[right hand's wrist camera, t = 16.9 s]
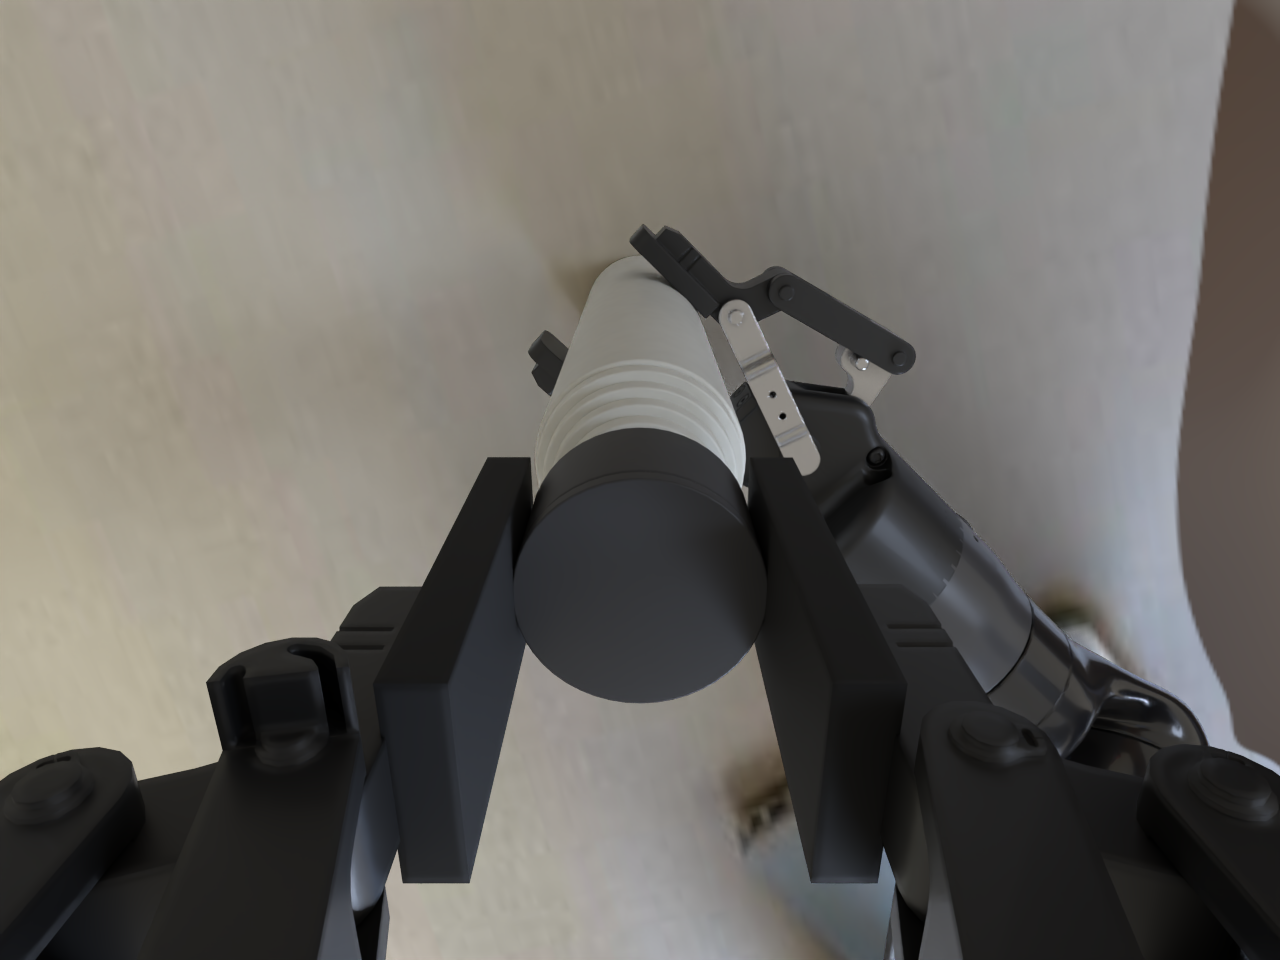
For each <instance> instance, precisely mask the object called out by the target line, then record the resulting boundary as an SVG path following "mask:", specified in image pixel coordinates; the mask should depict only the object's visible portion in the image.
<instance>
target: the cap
mask: <svg viewBox="0 0 1280 960" xmlns="http://www.w3.org/2000/svg"><path fill="white" fill-rule="evenodd" d="M767 580H768V575H767V568H766V564H765V561H764V558H763V555H762V552H761V548H760V545H759V542H758V539H757V535H756V532H755V529H754V526H753V522H752V519H751V516H750V513H749V509H748V506H747V503H746V500H745V497H744V494H743V491H742V489H741V487H740V485H739V483H738V481H737V479H736V478H735V476H734V475H733V474H732V472H731V471H730V469H729V468H728V467H727V466H726V465H725V464H724V463H723V461H722V460H721V459H720V458H719V457H717V456H716V455H715V454H714V453H713V452H711V451H710V450H709V449H707V448H706V447H704V446H703V445H701V444H700V443H698V442H696V441H694V440H692V439H690V438H688V437H686V436H683V435H680V434H677V433H674V432H671V431H666V430H661V429H655V428H625V429H620V430H614V431H609V432H606V433H603V434H600V435H597V436H595V437H593V438H591V439H588V440H586V441H584V442H582V443H581V444H579V445H578V446H576V447H575V448H573V449H572V450H570V451H569V452H568V453H567V454H565V455H564V456H563V457H562V458H561V459H560V460H559V461H558V462H557V463H556V464H555V465H554V466H553V467H552V469H551V470H550V471H549V473H548V474H547V476H546V477H545V479H544V480H543V482H542V484H541V486H540V488H539V490H538V492H537V495H536V498H535V501H534V504H533V508H532V511H531V514H530V517H529V521H528V524H527V527H526V530H525V534H524V537H523V540H522V543H521V547H520V550H519V553H518V556H517V560H516V563H515V566H514V571H513V588H514V604H515V617H516V621H517V624H518V627H519V629H520V631H521V633H522V635H523V638H524V640H525V641H526V643H527V644H528V646H529V647H530V649H531V651H532V652H533V653H534V655H535V656H536V657H537V658H538V659H539V660H540V662H541V663H542V664H543V665H544V666H545V667H547V668H548V669H549V670H550V671H551V672H552V673H553V674H554V675H556V676H557V677H559V678H560V679H562V680H563V681H564V682H566V683H568V684H569V685H571V686H573V687H575V688H577V689H579V690H581V691H583V692H586V693H588V694H591V695H593V696H597V697H600V698H604V699H608V700H613V701H619V702H625V703H654V702H662V701H668V700H673V699H677V698H680V697H684V696H687V695H690V694H692V693H695V692H697V691H699V690H702V689H704V688H705V687H707V686H709V685H711V684H713V683H715V682H716V681H717V680H719V679H720V678H722V677H723V676H724V675H726V674H727V673H728V672H730V671H731V670H732V669H733V668H734V667H735V666H736V665H737V664H738V663H739V662H740V661H741V660H742V659H743V657H744V656H745V655H746V654H747V653H748V651H749V650H750V648H751V647H752V645H753V643H754V642H755V640H756V639H757V636H758V634H759V632H760V630H761V628H762V626H763V622H764V619H765V610H766V596H767Z"/></svg>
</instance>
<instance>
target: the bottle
mask: <svg viewBox="0 0 1280 960" xmlns="http://www.w3.org/2000/svg"><path fill="white" fill-rule="evenodd" d="M625 428H655V429H661V430H666V431H671V432H674V433H677V434H680V435H683V436H686V437H688V438H690V439H692V440H694V441H696V442H698V443H700V444H701V445H703V446H704V447H706V448H707V449H709V450H710V451H711V452H713V453H714V454H715V455H716V456H717V457H719V458H720V459H721V460H722V461H723V463H724V464H725V465H726V466H727V467H728V468H729V469H730V471H731V472H732V474H733V475H734V476H735V478H736V479H737V481H738V483H739V485H740V487H741V489H742V484H743V478H744V473H745V463H746V453H745V443H744V438H743V433H742V430H741V427H740V424H739V421H738V419H737V416H736V413H735V410H734V408H733V405H732V402H731V400H730V397H729V394H728V392H727V389H726V386H725V384H724V381H723V378H722V376H721V373H720V370H719V368H718V365H717V362H716V360H715V357H714V354H713V352H712V349H711V346H710V344H709V341H708V338H707V336H706V333H705V330H704V328H703V325H702V322H701V319H700V317H699V314H698V311H697V310H696V309H695V308H694V307H693V306H692V305H691V303H690V302H689V301H688V300H687V299H686V298H685V297H684V296H682V295H681V294H680V293H679V292H678V291H677V290H676V289H675V288H674V287H673V286H672V285H671V284H670V283H669V282H668V281H667V280H666V279H665V278H664V277H663V276H662V275H661V274H660V273H659V272H658V271H657V270H656V269H655V268H654V267H653V266H652V265H651V264H650V263H649V262H648V261H647V260H646V259H645V258H644V257H643V256H640V255H638V256H630V257H626V258H623V259H620V260H618V261H616V262H614V263H612V264H611V265H610V266H608V267H607V268H606V269H605V270H604V271H603V272H602V273H601V274H600V275H599V276H598V278H597V279H596V281H595V282H594V284H593V286H592V289H591V291H590V294H589V296H588V299H587V302H586V304H585V307H584V310H583V312H582V315H581V318H580V320H579V323H578V326H577V329H576V331H575V334H574V337H573V339H572V342H571V345H570V347H569V350H568V353H567V355H566V358H565V361H564V363H563V366H562V369H561V371H560V374H559V377H558V379H557V382H556V385H555V387H554V390H553V393H552V395H551V398H550V401H549V403H548V406H547V409H546V411H545V414H544V417H543V419H542V422H541V425H540V428H539V431H538V435H537V439H536V446H535V469H536V475H537V482H538V488H540V486H541V484H542V482H543V480H544V479H545V477H546V476H547V474H548V473H549V471H550V470H551V469H552V467H553V466H554V465H555V464H556V463H557V462H558V461H559V460H560V459H561V458H562V457H563V456H564V455H565V454H567V453H568V452H569V451H570V450H572V449H573V448H575V447H576V446H578V445H579V444H581V443H582V442H584V441H586V440H588V439H591V438H593V437H595V436H597V435H600V434H603V433H606V432H609V431H614V430H620V429H625Z"/></svg>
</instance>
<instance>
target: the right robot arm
mask: <svg viewBox="0 0 1280 960" xmlns="http://www.w3.org/2000/svg"><path fill="white" fill-rule="evenodd" d="M747 506H748V509H749V513H750V516H751V519H752V522H753V526H754V529H755V532H756V535H757V539H758V542H759V545H760V548H761V552H762V555H763V558H764V561H765V564H766V568H767V575H768V580H767V596H766V610H765V619H764V622H763V626H762V628H761V630H760V632H759V634H758V636H757V639H756V640H755V642H754V643H755V647H756V651H757V655H758V660H759V664H760V668H761V672H762V677H763V681H764V685H765V689H766V694H767V698H768V702H769V706H770V711H771V715H772V719H773V723H774V728H775V732H776V736H777V740H778V745H779V749H780V753H781V757H782V762H783V766H784V770H785V774H786V779H787V783H788V787H789V791H790V796H791V800H792V804H793V808H794V813H795V817H796V821H797V826H798V830H799V834H800V838H801V843H802V847H803V851H804V855H805V860H806V864H807V868H808V872H809V877H810V881H811V883H878V878H879V871H880V865H881V858H882V851H883V846H884V849H885V852H886V855H887V858H888V860H889V863H890V866H891V869H892V872H893V875H894V877H895V880H896V883H895V889H894V895H893V901H892V908H891V914H890V920H889V926H888V932H887V938H886V945H885V951H884V958H883V960H894V959H895V960H1280V776H1279V775H1278V774H1276V773H1275V772H1274V771H1272V770H1270V769H1268V768H1266V767H1264V766H1262V765H1260V764H1258V763H1256V762H1254V761H1252V760H1250V759H1247V758H1246V757H1244V756H1241V755H1238V754H1235V753H1232V752H1230V751H1225V750H1222V749H1218V748H1214V747H1211V746H1201V745H1191V744H1179V745H1174V746H1169V747H1163V748H1161V749H1160V750H1159V751H1158V752H1156V753H1155V754H1154V755H1153V756H1152V757H1151V758H1150V760H1149V763H1148V767H1147V770H1146V773H1145V777H1144V778H1143V777H1138V776H1133V775H1129V774H1124V773H1120V772H1115V771H1110V770H1106V769H1101V768H1096V767H1092V766H1087V765H1084V764H1080V763H1076V762H1073V761H1069V760H1066V759H1063V758H1061V757H1060V755H1059V752H1058V750H1057V748H1056V747H1055V746H1054V744H1053V743H1052V741H1051V740H1050V739H1049V737H1048V736H1047V734H1046V733H1045V732H1044V731H1042V730H1041V729H1040V728H1038V727H1037V726H1036V725H1035V724H1033V723H1032V722H1031V721H1029V720H1028V719H1027V718H1025V717H1023V716H1021V715H1018V714H1016V713H1014V712H1012V711H1009V710H1007V709H1005V708H1003V707H1000V706H995V705H993V703H992V702H991V700H990V699H989V697H988V696H987V694H986V693H985V691H984V690H983V688H982V686H981V685H980V683H979V682H978V680H977V679H976V677H975V676H974V674H973V672H972V671H971V669H970V668H969V666H968V665H967V663H966V662H965V660H964V659H963V657H962V655H961V654H960V652H959V651H958V649H957V648H956V647H953V641H952V640H951V638H950V637H949V635H948V634H947V632H946V631H945V629H942V627H941V623H940V621H939V620H938V618H937V617H936V615H935V614H934V612H933V610H932V609H931V607H930V606H929V604H928V603H927V602H926V601H924V600H923V599H921V598H920V597H919V596H917V595H916V594H914V593H913V592H912V591H910V590H909V589H907V588H906V587H904V586H903V585H902V584H857V583H856V581H855V579H854V577H853V575H852V573H851V571H850V569H849V567H848V565H847V563H846V561H845V559H844V557H843V555H842V553H841V551H840V549H839V547H838V545H837V543H836V541H835V539H834V537H833V536H832V534H831V532H830V530H829V528H828V526H827V524H826V522H825V520H824V518H823V516H822V514H821V512H820V510H819V508H818V506H817V504H816V502H815V500H814V498H813V496H812V494H811V492H810V490H809V488H808V486H807V484H806V482H805V480H804V478H803V476H802V475H801V473H800V471H799V469H798V467H797V465H796V463H795V461H794V459H793V457H750V467H749V485H748V504H747ZM532 508H533V495H532V476H531V458H530V457H488V458H487V460H486V462H485V464H484V466H483V468H482V470H481V472H480V474H479V476H478V478H477V479H476V481H475V483H474V485H473V487H472V489H471V491H470V493H469V495H468V497H467V499H466V501H465V503H464V505H463V507H462V509H461V511H460V513H459V515H458V517H457V519H456V521H455V523H454V525H453V527H452V529H451V531H450V533H449V535H448V537H447V539H446V541H445V542H444V544H443V546H442V548H441V550H440V552H439V554H438V556H437V558H436V560H435V562H434V564H433V566H432V568H431V570H430V572H429V574H428V576H427V578H426V580H425V582H424V584H423V586H422V587H379V588H377V589H376V590H374V591H373V592H372V593H370V594H369V595H367V596H366V597H364V598H363V599H362V600H360V601H359V602H357V603H356V604H355V605H353V607H352V608H351V610H350V611H349V613H348V615H347V616H346V618H345V619H344V621H343V622H342V624H341V626H340V630H339V631H337V632H336V633H335V635H334V636H333V638H332V640H331V641H327V640H323V639H320V638H288V639H283V640H278V641H273V642H268V643H264V644H262V645H259V646H256V647H254V648H251V649H249V650H246V651H244V652H241V653H239V654H238V655H236V656H235V657H233V658H232V659H230V660H229V661H227V662H225V663H224V664H222V665H221V666H219V667H218V669H217V670H216V671H215V672H214V673H213V675H212V676H211V677H210V678H209V679H208V681H207V682H206V684H207V688H208V692H209V696H210V701H211V705H212V709H213V713H214V717H215V721H216V725H217V729H218V733H219V737H220V741H221V746H222V750H223V751H222V754H221V756H220V759H219V761H218V762H216V763H213V764H209V765H206V766H202V767H199V768H195V769H190V770H186V771H181V772H177V773H172V774H168V775H163V776H158V777H154V778H149V779H145V780H140V781H137V778H136V774H135V771H134V768H133V764H132V762H131V761H130V760H129V759H128V758H127V757H126V756H125V755H124V754H123V753H121V752H120V751H116V750H111V749H106V748H101V747H95V748H85V749H74V750H69V751H66V752H62V753H57V754H56V755H51V756H48V757H45V758H42V759H39V760H37V761H35V762H33V763H31V764H29V765H27V766H25V767H23V768H21V769H19V770H17V771H15V772H13V773H11V774H9V775H8V776H6V777H5V778H4V779H2V780H1V781H0V960H385V959H386V949H387V939H388V930H389V920H390V916H389V909H388V902H387V895H386V889H385V883H386V880H387V877H388V875H389V872H390V869H391V866H392V863H393V860H394V858H395V855H396V852H397V849H398V855H399V861H400V868H401V874H402V881H403V883H470V879H471V875H472V870H473V866H474V862H475V857H476V853H477V849H478V845H479V840H480V836H481V832H482V828H483V823H484V819H485V815H486V811H487V806H488V802H489V798H490V794H491V789H492V785H493V781H494V777H495V772H496V768H497V764H498V760H499V755H500V751H501V747H502V743H503V738H504V734H505V730H506V725H507V721H508V717H509V713H510V708H511V704H512V700H513V696H514V691H515V687H516V683H517V679H518V674H519V670H520V666H521V662H522V657H523V653H524V649H525V645H526V641H525V640H524V638H523V635H522V633H521V631H520V629H519V627H518V624H517V621H516V617H515V604H514V588H513V571H514V566H515V563H516V560H517V556H518V553H519V550H520V547H521V543H522V540H523V537H524V534H525V530H526V527H527V524H528V521H529V517H530V514H531V511H532Z"/></svg>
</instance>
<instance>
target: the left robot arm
mask: <svg viewBox="0 0 1280 960" xmlns="http://www.w3.org/2000/svg"><path fill="white" fill-rule="evenodd" d="M630 243H631V244H632V246H633V247H634V248H635V249H636V250H637V251H638V252H639V253H640V254H641V255H642V256H643V257H644V258H645V259H646V260H647V261H648V262H649V263H650V264H651V265H652V266H653V267H654V268H655V269H656V270H657V271H658V272H659V273H660V274H661V275H662V276H663V277H664V278H665V279H666V280H667V281H668V282H669V283H670V284H671V285H672V286H673V287H674V288H675V289H676V290H677V291H678V292H679V293H680V294H681V295H682V296H684V297H685V298H686V299H687V300H688V301H689V302H690V303H691V305H692V306H693V307H694V308H695V309H696V310H697V311H698V312H699V313H700V314H701V315H702V316H703V317H704V318H705V319H706V318H707V317H708V316H709V315H711V316H712V317H713V318H714V319H715V320H716V321H717V322H718V323H719V324H720V325H721V327H722V330H723V332H724V334H725V336H726V338H727V340H728V342H729V344H730V346H731V348H732V350H733V352H734V355H735V357H736V359H737V361H738V363H739V365H740V367H741V369H742V371H743V373H744V375H745V378H746V380H747V382H748V383H747V382H745V383H744V384H743V385H741V386H740V387H739V388H738V389H737V390H736V391H735V392H734V393H733V394H732V395H731V397H730V400H731V402H732V405H733V408H734V410H735V413H736V416H737V419H738V421H739V424H740V427H741V430H742V433H743V438H744V443H745V453H746V463H745V473H744V478H743V484H742V491H743V494H744V497H745V500H746V503H747V504H748V485H749V467H750V457H793V459H794V461H795V463H796V465H797V467H798V469H799V471H800V473H801V475H802V476H803V478H804V480H805V482H806V484H807V486H808V488H809V490H810V492H811V494H812V496H813V498H814V500H815V502H816V504H817V506H818V508H819V510H820V512H821V514H822V516H823V518H824V520H825V522H826V524H827V526H828V528H829V530H830V532H831V534H832V536H833V537H834V539H835V541H836V543H837V545H838V547H839V549H840V551H841V553H842V555H843V557H844V559H845V561H846V563H847V565H848V567H849V569H850V571H851V573H852V575H853V577H854V579H855V581H856V583H857V584H902V585H903V586H904V587H906V588H907V589H909V590H910V591H912V592H913V593H914V594H916V595H917V596H919V597H920V598H921V599H923V600H924V601H926V602H927V603H928V604H929V606H930V607H931V609H932V610H933V612H934V614H935V615H936V617H937V618H938V620H939V621H940V623H941V627H942V629H945V631H946V632H947V634H948V635H949V637H950V638H951V640H952V641H953V647H956V648H957V649H958V651H959V652H960V654H961V655H962V657H963V659H964V660H965V662H966V663H967V665H968V666H969V668H970V669H971V671H972V672H973V674H974V676H975V677H976V679H977V680H978V682H979V683H980V685H981V686H982V688H983V690H984V691H985V693H986V694H987V696H988V697H989V699H990V700H991V702H992V703H993V705H995V706H1000V707H1003V708H1005V709H1007V710H1009V711H1012V712H1014V713H1016V714H1018V715H1021V716H1023V717H1025V718H1027V719H1028V720H1029V721H1031V722H1032V723H1033V724H1035V725H1036V726H1037V727H1038V728H1040V729H1041V730H1042V731H1044V732H1045V733H1046V734H1047V736H1048V737H1049V739H1050V740H1051V741H1052V743H1053V744H1054V746H1055V747H1056V748H1057V750H1058V752H1059V755H1060V757H1061V758H1063V759H1066V760H1069V761H1073V762H1076V763H1080V764H1084V765H1087V766H1092V767H1096V768H1101V769H1106V770H1110V771H1115V772H1120V773H1124V774H1129V775H1133V776H1138V777H1143V778H1144V777H1145V773H1146V770H1147V767H1148V763H1149V760H1150V758H1151V757H1152V756H1153V755H1154V754H1155V753H1156V752H1158V751H1159V750H1160V749H1161V748H1163V747H1169V746H1174V745H1179V744H1191V745H1201V746H1210V745H1209V742H1208V739H1207V736H1206V734H1205V731H1204V729H1203V727H1202V725H1201V724H1200V722H1199V720H1198V719H1197V717H1196V716H1195V714H1194V713H1193V711H1192V710H1191V709H1190V708H1189V707H1188V706H1187V705H1186V704H1185V703H1184V702H1183V701H1182V700H1181V699H1179V698H1178V697H1177V696H1175V695H1174V694H1172V693H1170V692H1169V691H1167V690H1165V689H1163V688H1161V687H1159V686H1157V685H1155V684H1153V683H1151V682H1149V681H1147V680H1144V679H1142V678H1140V677H1138V676H1136V675H1134V674H1132V673H1130V672H1128V671H1126V670H1125V669H1123V668H1121V667H1119V666H1117V665H1116V664H1114V663H1112V662H1110V661H1108V660H1107V659H1105V658H1103V657H1101V656H1100V655H1098V654H1096V653H1094V652H1092V651H1090V650H1088V649H1087V648H1085V647H1083V646H1081V645H1079V644H1078V643H1076V642H1074V641H1073V640H1071V639H1069V637H1068V636H1067V635H1066V634H1065V633H1064V632H1063V631H1062V630H1061V629H1060V628H1059V627H1058V626H1057V625H1056V624H1055V623H1054V622H1053V621H1052V620H1051V619H1050V618H1049V617H1048V616H1047V615H1046V614H1045V613H1044V612H1043V611H1042V610H1041V609H1040V608H1039V607H1038V606H1037V605H1036V604H1035V603H1034V602H1033V601H1032V600H1031V599H1030V598H1029V597H1028V596H1027V595H1026V594H1025V593H1024V592H1023V590H1022V589H1021V588H1020V587H1019V586H1018V584H1017V583H1016V582H1015V581H1014V579H1013V578H1012V576H1011V575H1010V574H1009V572H1008V571H1007V569H1006V568H1005V566H1004V565H1003V564H1002V562H1001V561H1000V560H999V558H998V557H997V556H996V555H995V553H994V552H993V551H992V550H991V549H990V548H989V547H988V546H987V545H986V544H985V543H984V542H983V540H982V539H981V538H980V537H979V536H978V535H977V534H976V533H975V532H974V531H973V529H972V528H971V526H970V525H969V523H968V522H967V521H966V520H965V519H964V518H962V517H961V516H960V515H958V514H956V513H955V512H954V511H953V510H952V509H951V508H950V507H949V506H948V505H947V504H946V503H945V502H944V501H943V500H942V499H941V498H940V497H939V496H938V495H937V494H936V493H935V492H934V491H933V490H932V489H931V487H930V486H929V485H928V484H927V483H926V482H925V481H924V480H923V479H922V478H921V477H920V476H919V475H918V474H917V473H916V472H915V471H914V470H913V469H912V468H911V467H910V466H909V465H908V464H907V463H906V462H905V461H904V460H903V459H902V458H901V457H900V456H899V455H898V454H897V453H896V452H895V451H894V450H893V449H892V448H891V447H890V446H889V445H888V444H887V443H886V442H885V441H884V440H883V439H882V437H881V436H880V435H879V433H878V430H877V427H876V424H875V418H874V414H873V412H872V410H871V408H870V406H871V405H872V403H873V402H874V400H875V399H876V397H877V396H878V394H879V393H880V391H881V390H882V389H883V387H884V386H885V384H886V383H887V381H888V380H889V378H890V377H891V375H892V374H895V375H898V374H903V373H905V372H907V371H908V370H909V369H910V368H911V367H912V366H913V364H914V362H915V358H916V354H915V350H914V348H913V347H912V346H911V345H910V344H909V343H907V342H906V341H904V340H903V339H901V338H900V337H899V336H897V335H896V334H894V333H893V332H891V331H890V330H888V329H887V328H885V327H883V326H881V325H880V324H878V323H876V322H875V321H873V320H871V319H870V318H868V317H866V316H864V315H863V314H861V313H859V312H858V311H856V310H854V309H853V308H851V307H849V306H847V305H846V304H844V303H842V302H841V301H839V300H837V299H836V298H834V297H832V296H830V295H829V294H827V293H825V292H824V291H822V290H820V289H819V288H817V287H815V286H813V285H812V284H810V283H808V282H807V281H805V280H803V279H802V278H800V277H798V276H796V275H795V274H793V273H791V272H790V271H788V270H786V269H785V268H783V267H779V266H773V267H770V268H768V269H767V270H765V271H764V272H763V274H761V275H759V276H757V277H755V278H753V279H751V280H749V281H747V282H744V283H733V282H730V281H728V280H726V279H725V278H724V277H723V276H722V275H721V274H720V273H719V272H718V271H717V270H716V269H715V268H714V267H713V266H712V265H711V264H710V263H709V262H708V261H707V260H706V259H705V258H704V257H703V256H702V255H701V254H700V253H699V252H698V251H697V249H696V248H695V247H694V246H693V245H692V244H691V243H690V242H689V241H688V240H687V239H686V238H685V237H684V236H683V235H682V234H681V233H680V232H679V231H677V230H675V229H672V228H670V227H668V226H664V227H663V228H662V229H661V230H660V231H659V232H658V233H657V234H656V235H655V234H654V233H653V232H652V231H651V230H650V229H648V228H647V227H646V226H645V225H644V224H643V225H642V226H641V227H640V228H639V229H638V230H637V231H636V232H635V233H634V234H633V236H632V237H631V238H630ZM779 311H783V312H785V313H786V314H788V315H790V316H792V317H793V318H795V319H797V320H799V321H800V322H802V323H804V324H805V325H807V326H809V327H811V328H812V329H814V330H816V331H818V332H819V333H821V334H823V335H825V336H826V337H828V338H830V339H831V340H833V341H835V342H837V343H838V344H839V345H838V347H837V349H836V353H835V357H836V361H837V363H838V364H839V365H840V366H841V367H842V368H843V369H844V370H845V371H846V373H847V376H848V382H847V385H846V387H845V388H838V387H830V386H823V385H816V384H808V383H801V382H794V381H786V380H785V379H784V377H783V375H782V373H781V370H780V368H779V366H778V364H777V362H776V360H775V358H774V356H773V354H772V352H771V350H770V348H769V346H768V344H767V342H766V339H765V337H764V335H763V333H762V331H761V329H760V326H759V324H758V321H760V320H762V319H764V318H766V317H769V316H771V315H773V314H775V313H777V312H779ZM568 350H569V349H568V348H567V347H566V346H565V345H564V344H563V343H561V342H560V341H559V340H558V339H557V338H556V337H555V336H554V335H552V334H551V333H550V332H548V331H546V330H545V331H544V332H543V333H542V334H541V335H540V336H539V337H538V338H537V339H536V341H535V342H534V343H533V344H532V346H531V347H530V349H529V351H528V353H529V355H530V356H531V358H532V359H533V360H534V361H535V362H536V365H535V367H534V369H533V371H532V375H533V376H534V378H535V380H536V382H537V384H538V386H539V387H540V388H541V389H543V390H544V391H545V392H546V393H547V394H548V395H550V396H551V395H552V393H553V390H554V387H555V385H556V382H557V379H558V377H559V374H560V371H561V369H562V366H563V363H564V361H565V358H566V355H567V353H568Z"/></svg>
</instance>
